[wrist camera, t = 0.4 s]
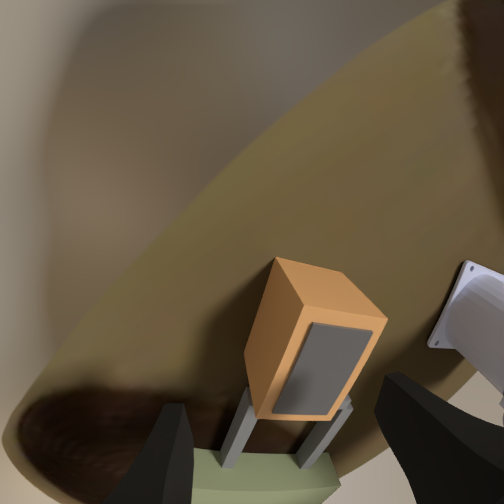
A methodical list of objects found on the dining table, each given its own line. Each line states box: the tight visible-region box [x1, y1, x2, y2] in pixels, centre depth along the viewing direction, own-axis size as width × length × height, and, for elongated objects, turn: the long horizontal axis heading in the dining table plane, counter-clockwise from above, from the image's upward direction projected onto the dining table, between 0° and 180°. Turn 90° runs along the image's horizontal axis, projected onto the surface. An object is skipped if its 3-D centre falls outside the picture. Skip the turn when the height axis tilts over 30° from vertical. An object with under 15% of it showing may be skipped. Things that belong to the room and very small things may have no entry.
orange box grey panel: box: [244, 257, 388, 421], centre depth 16 cm, size 4×7×6 cm, turn 164°
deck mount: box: [191, 386, 353, 504], centre depth 21 cm, size 14×16×4 cm
